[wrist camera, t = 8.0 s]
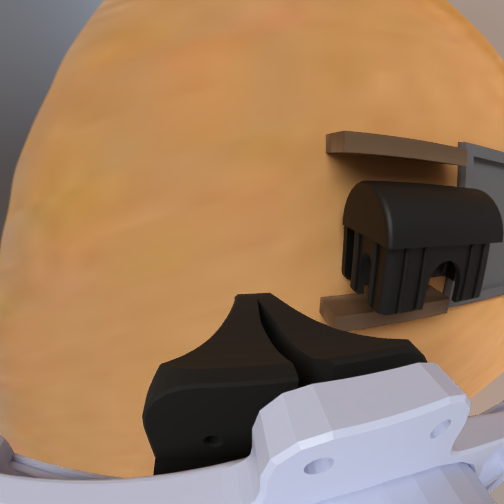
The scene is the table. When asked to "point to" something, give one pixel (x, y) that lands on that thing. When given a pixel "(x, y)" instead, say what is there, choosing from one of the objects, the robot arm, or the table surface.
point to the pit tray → (500, 190)
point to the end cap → (416, 241)
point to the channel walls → (355, 305)
